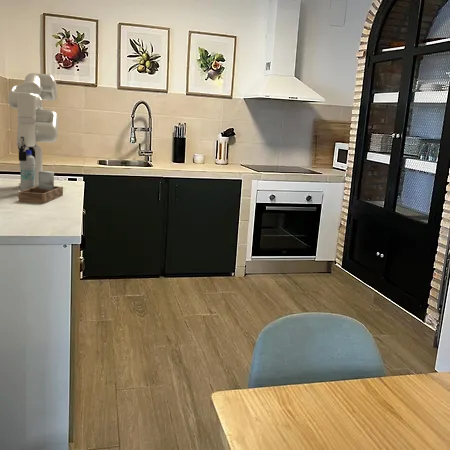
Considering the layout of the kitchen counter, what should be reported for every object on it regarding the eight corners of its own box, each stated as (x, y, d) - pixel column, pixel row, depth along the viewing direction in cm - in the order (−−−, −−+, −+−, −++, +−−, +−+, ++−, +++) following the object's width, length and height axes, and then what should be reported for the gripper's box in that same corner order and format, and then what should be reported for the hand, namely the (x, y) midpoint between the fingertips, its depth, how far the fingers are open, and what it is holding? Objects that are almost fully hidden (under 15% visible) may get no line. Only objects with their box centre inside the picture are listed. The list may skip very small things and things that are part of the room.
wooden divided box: (39, 193, 232) (39, 169, 229) (62, 195, 232) (62, 171, 229) (18, 201, 210) (18, 175, 208) (44, 203, 210) (44, 177, 208)
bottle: (38, 193, 232) (38, 149, 227) (27, 195, 226) (27, 150, 221) (27, 191, 234) (27, 148, 230) (16, 193, 228) (15, 149, 224)
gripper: (26, 120, 231) (26, 158, 235) (9, 120, 215) (10, 160, 218) (42, 121, 231) (42, 159, 235) (27, 121, 214) (27, 162, 218)
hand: (27, 160), depth 226 cm, fingers open, 9 cm apart
